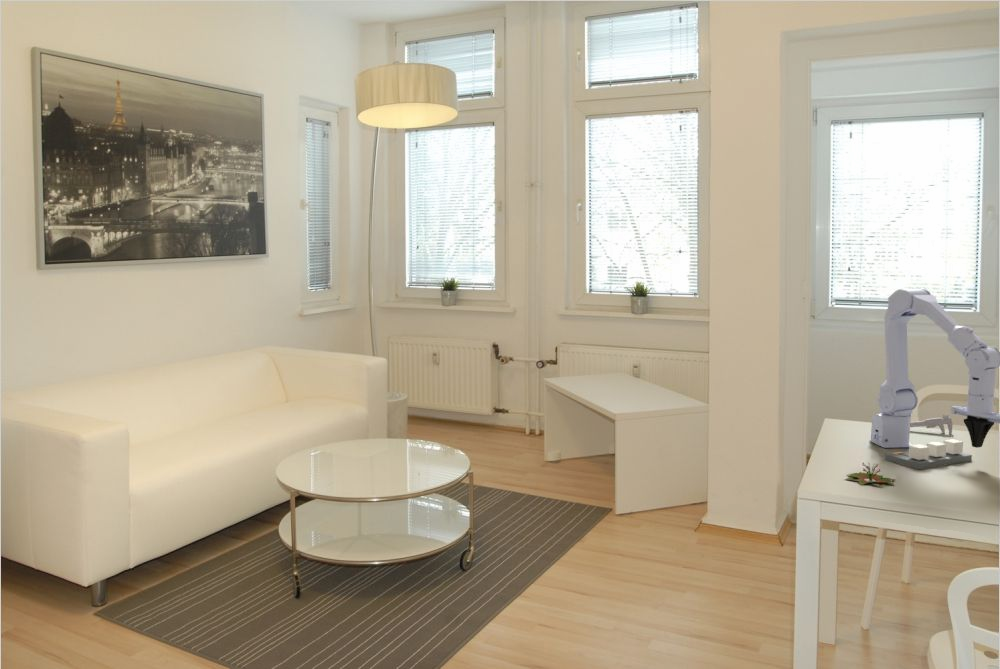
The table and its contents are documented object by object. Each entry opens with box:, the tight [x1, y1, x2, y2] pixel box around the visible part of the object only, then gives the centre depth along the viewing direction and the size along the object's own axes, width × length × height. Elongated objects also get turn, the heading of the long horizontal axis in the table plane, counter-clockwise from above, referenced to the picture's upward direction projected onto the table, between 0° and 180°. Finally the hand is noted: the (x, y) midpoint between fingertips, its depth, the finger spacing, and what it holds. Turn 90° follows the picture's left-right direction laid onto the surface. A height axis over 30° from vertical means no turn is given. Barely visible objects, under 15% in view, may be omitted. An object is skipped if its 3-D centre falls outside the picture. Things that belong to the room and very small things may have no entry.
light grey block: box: [908, 443, 929, 460], centre depth 214 cm, size 4×3×3 cm
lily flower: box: [844, 462, 896, 489], centre depth 201 cm, size 12×12×5 cm
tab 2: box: [942, 438, 964, 454], centre depth 220 cm, size 4×3×3 cm
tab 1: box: [926, 441, 947, 457], centre depth 217 cm, size 4×3×3 cm
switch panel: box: [885, 450, 973, 470], centre depth 219 cm, size 20×10×2 cm, turn 115°
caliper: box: [910, 413, 953, 435], centre depth 251 cm, size 20×1×6 cm, turn 73°
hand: (976, 446), depth 214 cm, fingers closed
